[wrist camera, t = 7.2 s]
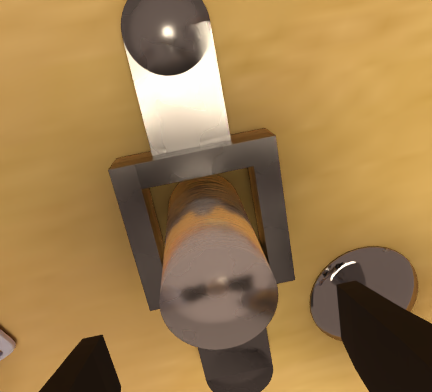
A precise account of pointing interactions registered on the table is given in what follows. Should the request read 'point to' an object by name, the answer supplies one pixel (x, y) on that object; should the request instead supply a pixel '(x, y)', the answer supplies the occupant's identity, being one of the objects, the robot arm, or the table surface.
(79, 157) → the table surface
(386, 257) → the wine glass
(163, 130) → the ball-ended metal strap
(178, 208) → the steel pin
